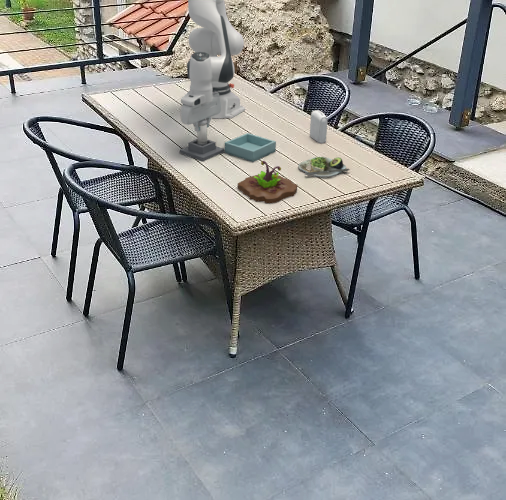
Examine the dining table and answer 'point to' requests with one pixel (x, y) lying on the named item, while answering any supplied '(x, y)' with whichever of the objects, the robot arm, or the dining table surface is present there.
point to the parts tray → (250, 147)
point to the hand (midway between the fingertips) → (202, 129)
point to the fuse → (202, 132)
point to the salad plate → (323, 167)
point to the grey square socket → (201, 150)
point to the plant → (267, 186)
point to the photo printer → (318, 126)
